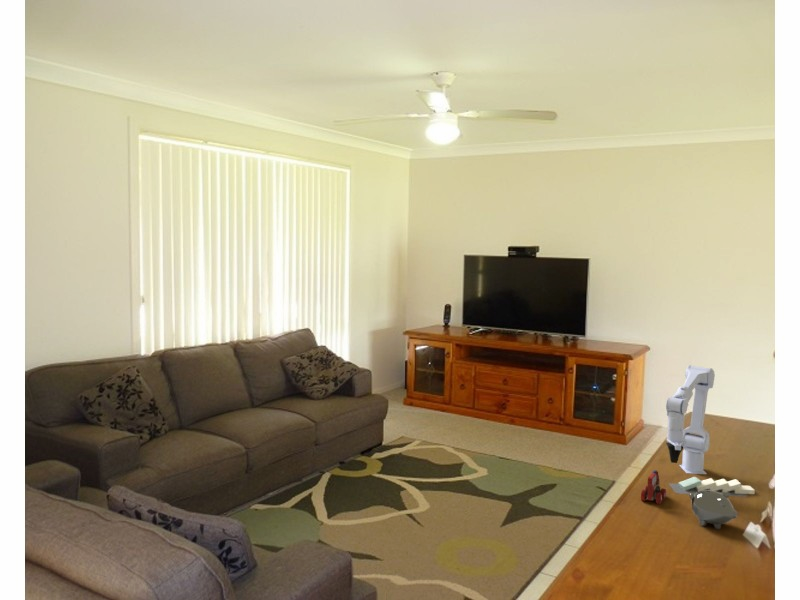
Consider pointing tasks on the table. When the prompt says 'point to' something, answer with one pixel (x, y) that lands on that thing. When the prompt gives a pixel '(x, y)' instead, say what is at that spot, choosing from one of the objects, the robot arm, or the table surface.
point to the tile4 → (732, 485)
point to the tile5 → (744, 490)
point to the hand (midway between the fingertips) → (673, 462)
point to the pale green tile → (690, 483)
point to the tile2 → (706, 484)
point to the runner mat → (694, 490)
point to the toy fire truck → (653, 489)
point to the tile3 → (720, 485)
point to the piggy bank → (712, 507)
